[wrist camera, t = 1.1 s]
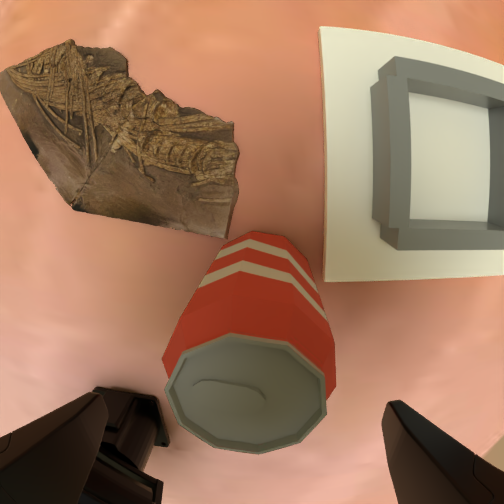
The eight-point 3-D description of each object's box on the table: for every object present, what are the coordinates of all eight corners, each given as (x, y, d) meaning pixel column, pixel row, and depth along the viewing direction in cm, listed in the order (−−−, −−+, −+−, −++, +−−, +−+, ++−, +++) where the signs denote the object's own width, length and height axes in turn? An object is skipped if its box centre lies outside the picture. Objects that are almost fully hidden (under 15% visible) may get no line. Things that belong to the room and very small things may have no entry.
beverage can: (217, 223, 20) (146, 302, 8) (318, 240, 20) (374, 338, 8) (207, 310, 22) (151, 441, 10) (299, 325, 21) (317, 467, 10)
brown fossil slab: (285, 161, 19) (285, 161, 18) (186, 293, 22) (182, 299, 21) (38, 12, 16) (31, 9, 15) (-19, 118, 19) (-26, 118, 18)
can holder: (507, 270, 19) (536, 287, 15) (322, 276, 20) (332, 301, 17) (509, 72, 15) (540, 64, 11) (317, 32, 16) (327, 4, 12)
